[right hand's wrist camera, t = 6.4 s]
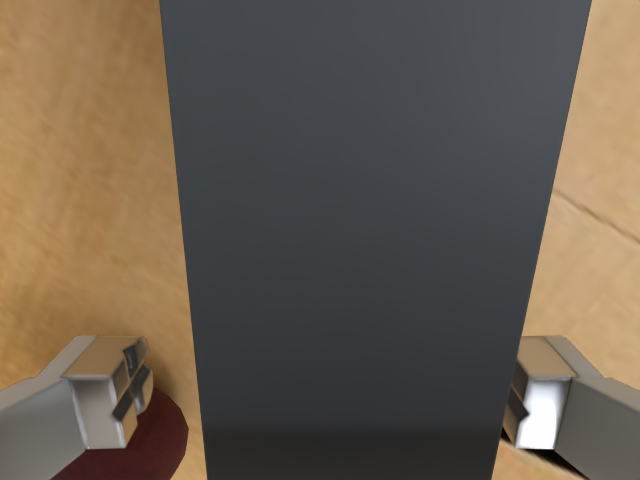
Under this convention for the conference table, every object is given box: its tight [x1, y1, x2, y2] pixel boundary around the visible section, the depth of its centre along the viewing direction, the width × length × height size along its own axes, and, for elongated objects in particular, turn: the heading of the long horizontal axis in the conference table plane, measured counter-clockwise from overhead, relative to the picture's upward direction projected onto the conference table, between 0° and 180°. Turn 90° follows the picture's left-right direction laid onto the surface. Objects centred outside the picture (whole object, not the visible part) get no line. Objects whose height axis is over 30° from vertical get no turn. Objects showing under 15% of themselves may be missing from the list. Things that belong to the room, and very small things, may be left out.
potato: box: [50, 388, 189, 480], centre depth 26 cm, size 7×8×7 cm
